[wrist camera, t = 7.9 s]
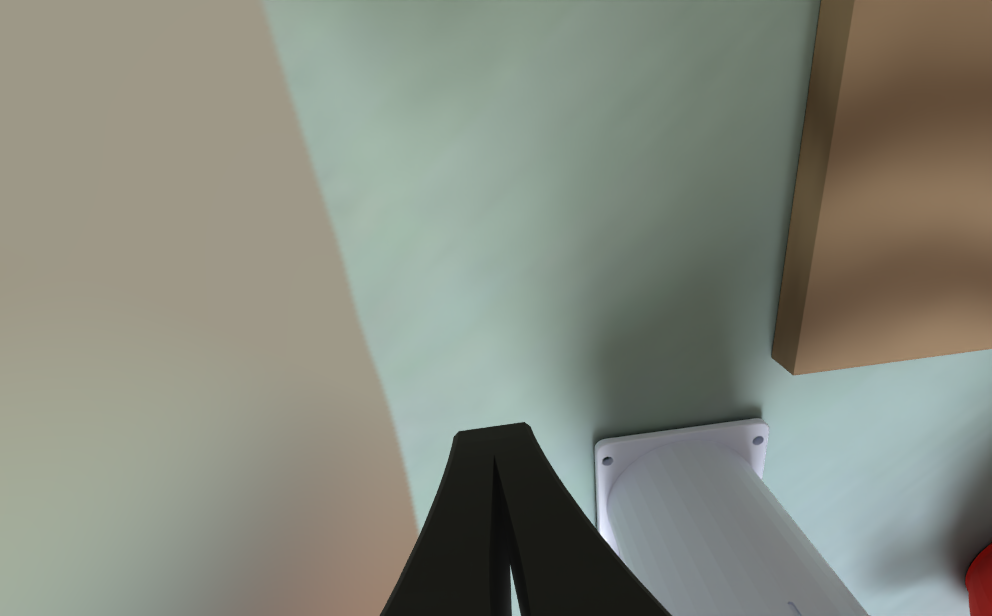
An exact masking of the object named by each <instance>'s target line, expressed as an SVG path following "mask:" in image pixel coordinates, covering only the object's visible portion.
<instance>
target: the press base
mask: <svg viewBox="0 0 992 616" xmlns="http://www.w3.org/2000/svg"><path fill="white" fill-rule="evenodd" d="M986 349H992V0H821V6H820V13H819V20H818V27H817V34H816V42H815V49H814V56H813V63H812V70H811V77H810V85H809V92H808V99H807V106H806V113H805V120H804V128H803V135H802V142H801V149H800V156H799V163H798V171H797V178H796V185H795V192H794V199H793V207H792V214H791V221H790V228H789V235H788V242H787V250H786V257H785V264H784V271H783V278H782V285H781V293H780V300H779V307H778V314H777V321H776V328H775V336H774V343H773V350H772V358H773V359H774V360H775V361H776V362H778V363H779V364H780V365H781V366H783V367H784V368H785V369H786V370H787V371H789V372H790V373H791V374H792V375H800V374H808V373H815V372H823V371H830V370H838V369H845V368H852V367H860V366H867V365H875V364H882V363H890V362H897V361H904V360H912V359H919V358H927V357H934V356H941V355H949V354H956V353H964V352H971V351H979V350H986Z"/></svg>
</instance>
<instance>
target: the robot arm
mask: <svg viewBox="0 0 992 616" xmlns="http://www.w3.org/2000/svg"><path fill="white" fill-rule="evenodd" d="M757 436H758V437H757ZM768 436H769V426H768V424H767V423H766V422H765V421H764V420H763V419H760V418H754V419H747V420H740V421H732V422H725V423H718V424H710V425H703V426H696V427H688V428H681V429H674V430H666V431H659V432H652V433H644V434H637V435H630V436H622V437H615V438H607V439H603V440H600V441H599V442H597V444H596V445H595V475H596V502H597V529H596V528H595V527H594V526H593V524H592V523H591V522H590V520H589V519H588V518H587V516H586V515H585V514H584V512H583V511H582V510H581V508H580V507H579V506H578V504H577V503H576V501H575V500H574V499H573V497H572V496H571V494H570V493H569V492H568V490H567V489H566V487H565V486H564V485H563V483H562V482H561V480H560V479H559V477H558V476H557V474H556V473H555V471H554V469H553V468H552V466H551V465H550V463H549V461H548V460H547V458H546V456H545V455H544V453H543V451H542V449H541V448H540V446H539V444H538V442H537V440H536V438H535V436H534V434H533V431H532V429H531V426H529V425H528V424H526V423H525V422H521V423H514V424H507V425H500V426H493V427H486V428H479V429H472V430H465V431H459V432H458V433H457V434H456V435H455V436H454V438H453V443H452V447H451V451H450V455H449V459H448V462H447V465H446V468H445V471H444V474H443V477H442V480H441V483H440V486H439V488H438V491H437V494H436V496H435V499H434V501H433V504H432V506H431V509H430V511H429V514H428V516H427V519H426V521H425V523H424V526H423V528H422V531H421V533H420V535H419V537H418V540H417V542H416V544H415V546H414V548H413V550H412V552H411V554H410V556H409V559H408V561H407V563H406V565H405V567H404V569H403V571H402V573H401V576H400V578H399V580H398V582H397V584H396V586H395V588H394V590H393V591H392V593H391V595H390V597H389V599H388V601H387V603H386V605H385V607H384V609H383V610H382V612H381V614H380V616H512V609H511V580H510V566H511V570H512V575H513V580H514V585H515V589H516V594H517V599H518V603H519V608H520V613H521V616H870V615H868V614H867V612H866V611H865V610H864V609H863V607H862V606H861V605H860V604H859V602H858V601H857V600H856V599H855V597H854V596H853V595H852V593H851V592H850V591H849V590H848V588H847V587H846V586H845V585H844V583H843V582H842V581H841V580H840V578H839V577H838V576H837V575H836V573H835V572H834V571H833V569H832V568H831V567H830V566H829V564H828V563H827V562H826V561H825V559H824V558H823V557H822V556H821V554H820V553H819V552H818V551H817V549H816V548H815V547H814V545H813V544H812V543H811V542H810V540H809V539H808V538H807V537H806V535H805V534H804V533H803V532H802V530H801V529H800V528H799V527H798V525H797V524H796V523H795V522H794V520H793V519H792V518H791V516H790V515H789V514H788V513H787V511H786V510H785V509H784V508H783V506H782V505H781V504H780V503H779V501H778V500H777V499H776V498H775V496H774V495H773V494H772V492H771V491H770V490H769V489H768V487H767V486H766V485H765V484H764V482H763V481H762V476H763V470H764V463H765V456H766V449H767V443H768ZM755 437H757V438H756V439H754V438H755ZM605 457H610V458H609V459H606V460H603V459H604V458H605ZM597 530H598V531H597Z"/></svg>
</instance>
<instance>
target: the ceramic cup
mask: <svg viewBox="0 0 992 616" xmlns="http://www.w3.org/2000/svg"><path fill="white" fill-rule="evenodd" d="M965 585H966V588H967V591H968V592H969V608H970V615H971V616H992V543H991V544H990V545H988V546H987V547H986V548H985V549H984V550H983V551H982V552H981V553H980V554H979V555H978V556H977V557H976V558H975V560H974V561H973V562H972V564H971V565H970V567H969V569H968V571H967V574H966V578H965Z"/></svg>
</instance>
